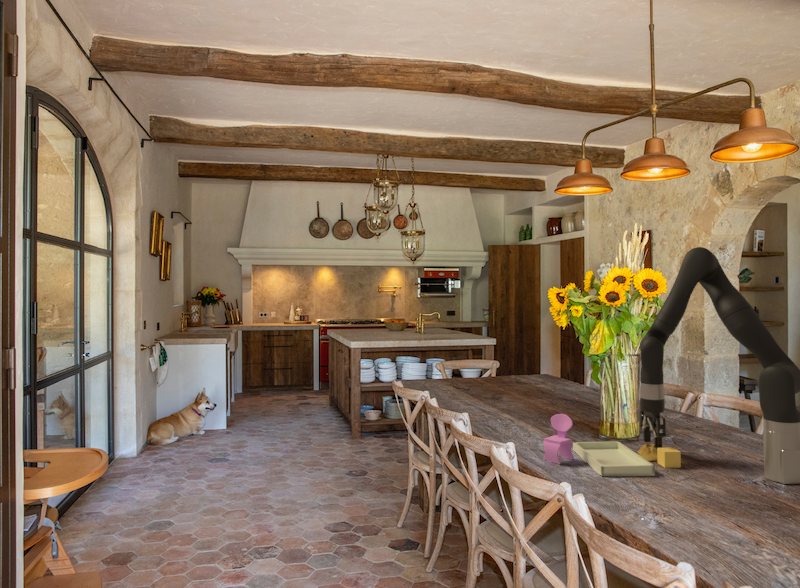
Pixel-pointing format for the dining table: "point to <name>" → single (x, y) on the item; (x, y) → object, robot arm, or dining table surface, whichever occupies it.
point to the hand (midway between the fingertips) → (652, 445)
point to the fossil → (648, 452)
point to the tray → (613, 459)
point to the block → (669, 457)
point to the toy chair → (559, 439)
